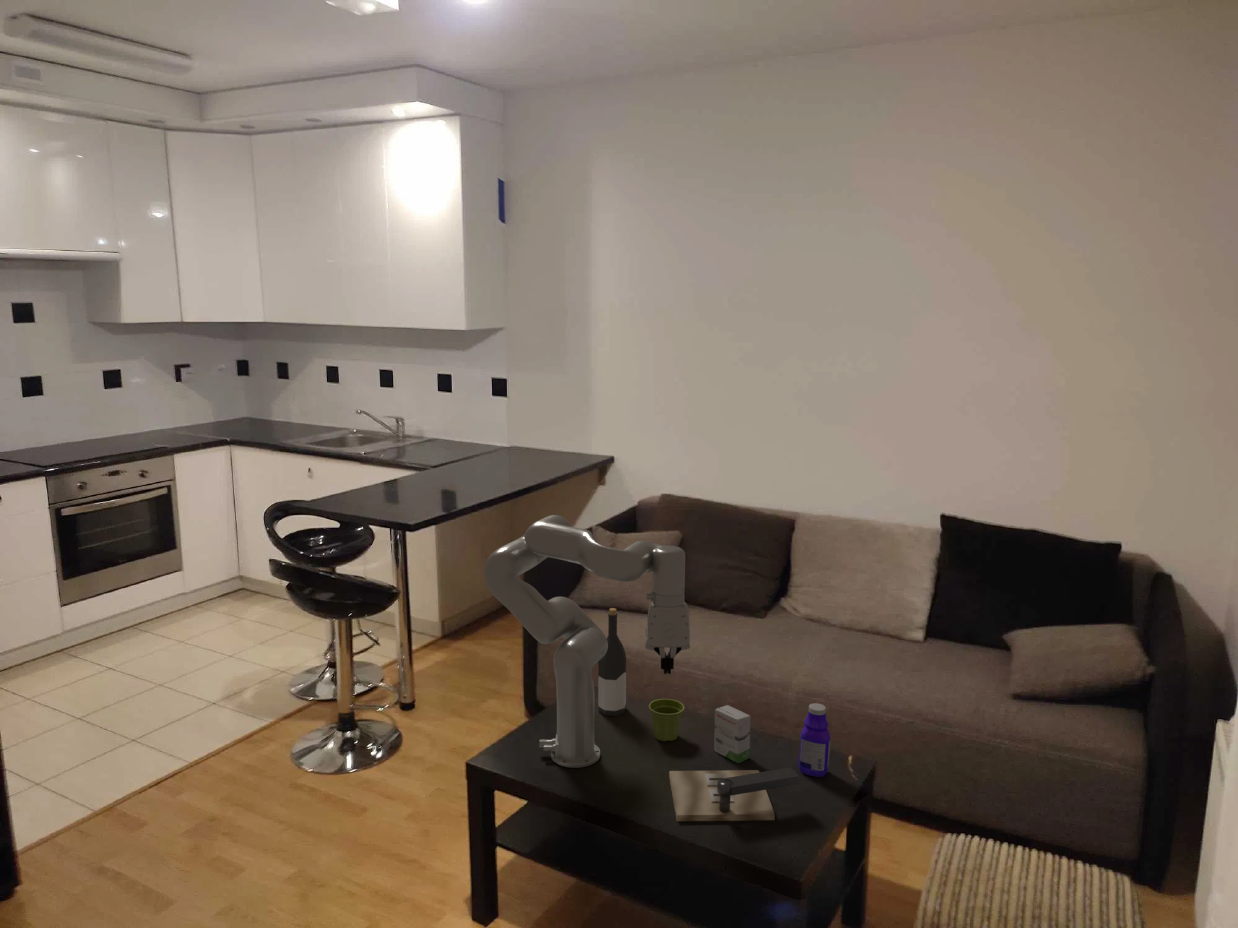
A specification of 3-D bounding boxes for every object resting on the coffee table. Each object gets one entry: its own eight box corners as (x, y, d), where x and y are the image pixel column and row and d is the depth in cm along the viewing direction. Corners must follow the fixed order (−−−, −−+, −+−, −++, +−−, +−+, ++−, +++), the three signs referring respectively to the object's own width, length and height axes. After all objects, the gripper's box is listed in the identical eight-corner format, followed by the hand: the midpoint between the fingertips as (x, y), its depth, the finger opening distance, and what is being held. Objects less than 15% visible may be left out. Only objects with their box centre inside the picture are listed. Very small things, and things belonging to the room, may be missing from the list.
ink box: (750, 758, 227) (752, 714, 225) (737, 764, 224) (738, 720, 222) (726, 745, 233) (727, 703, 231) (712, 750, 230) (713, 708, 228)
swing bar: (714, 787, 202) (714, 779, 201) (790, 775, 207) (791, 767, 207) (721, 797, 198) (721, 788, 197) (799, 783, 203) (799, 775, 203)
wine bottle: (607, 701, 258) (607, 602, 253) (631, 707, 254) (632, 607, 249) (592, 711, 252) (592, 610, 246) (617, 718, 248) (618, 616, 242)
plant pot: (660, 724, 244) (661, 695, 243) (690, 734, 239) (690, 704, 237) (641, 738, 237) (642, 707, 235) (671, 748, 231) (672, 717, 230)
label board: (676, 821, 199) (677, 798, 198) (669, 776, 218) (669, 755, 217) (774, 819, 200) (775, 797, 199) (758, 775, 218) (759, 754, 217)
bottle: (830, 769, 221) (834, 704, 218) (825, 780, 216) (829, 714, 213) (801, 763, 224) (804, 698, 221) (796, 774, 219) (799, 708, 216)
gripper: (637, 603, 206) (636, 678, 209) (701, 603, 206) (699, 677, 210) (635, 593, 213) (635, 665, 217) (698, 593, 214) (696, 665, 217)
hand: (666, 671), depth 213 cm, fingers closed
